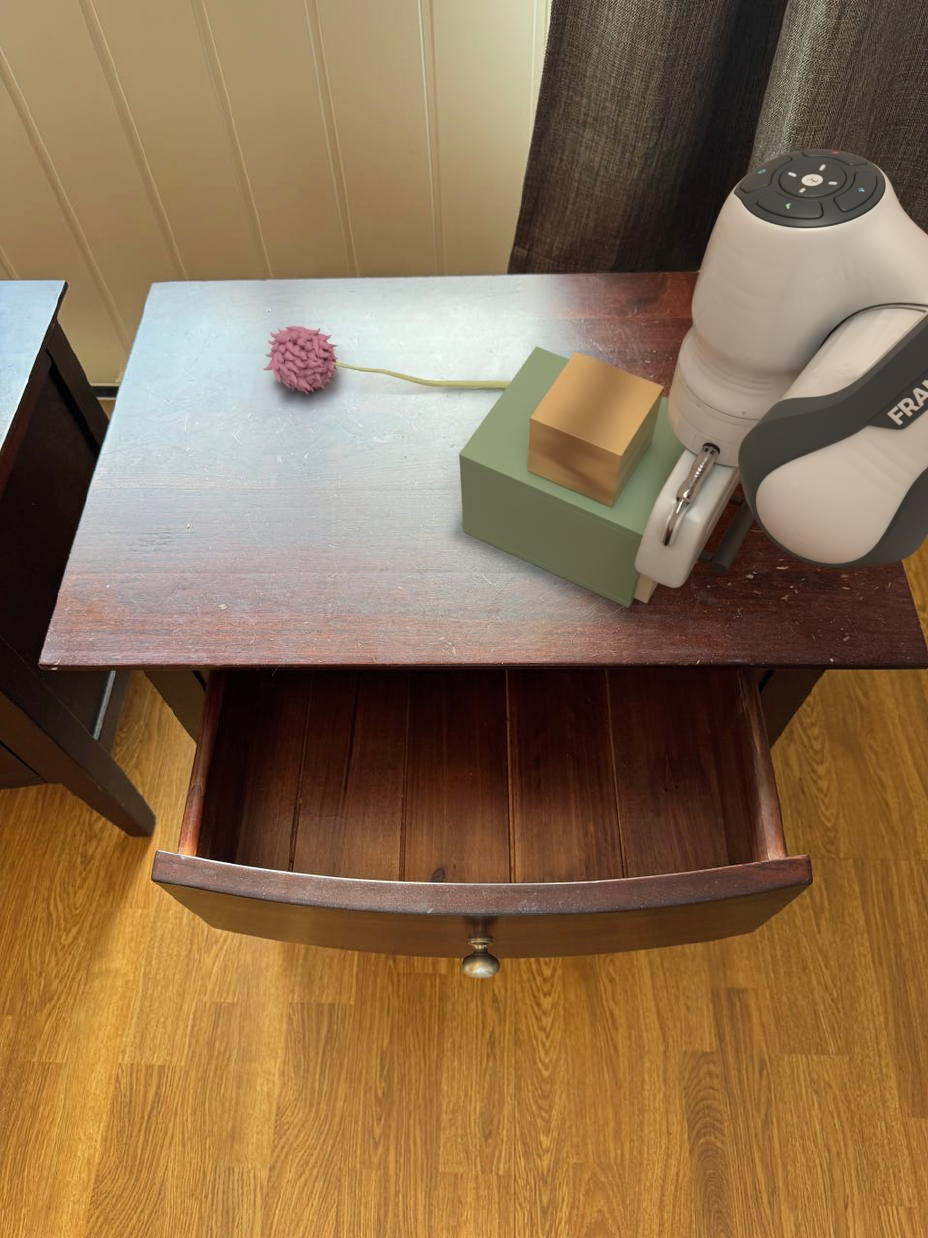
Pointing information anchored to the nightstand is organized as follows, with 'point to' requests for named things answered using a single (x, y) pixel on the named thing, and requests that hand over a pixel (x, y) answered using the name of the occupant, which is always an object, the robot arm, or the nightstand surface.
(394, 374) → the artificial flower
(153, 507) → the nightstand surface
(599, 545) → the cabinet
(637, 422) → the riser
